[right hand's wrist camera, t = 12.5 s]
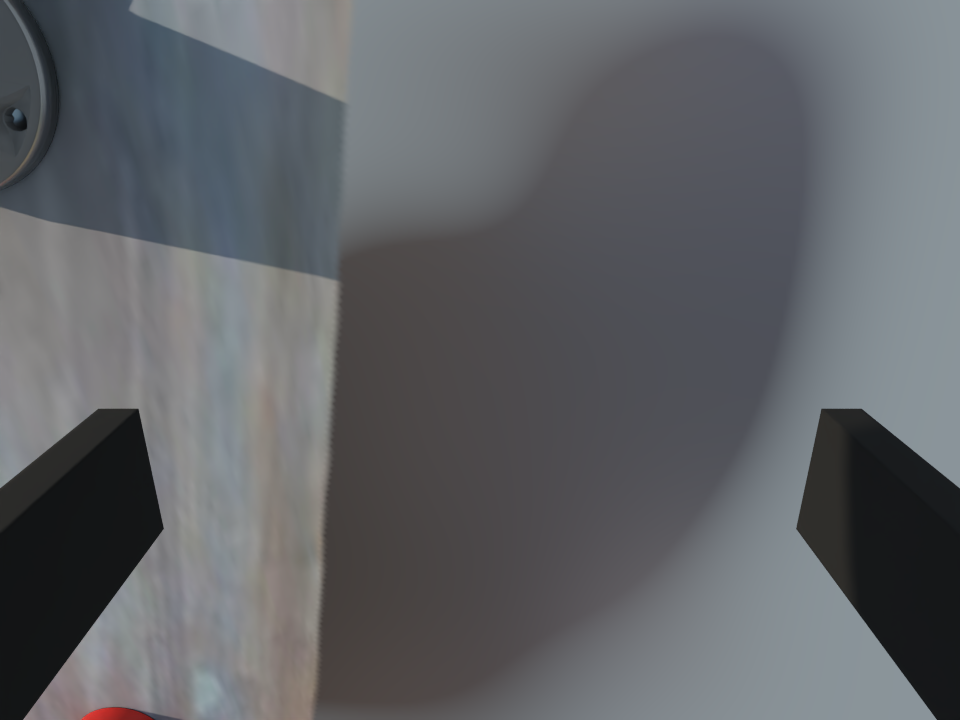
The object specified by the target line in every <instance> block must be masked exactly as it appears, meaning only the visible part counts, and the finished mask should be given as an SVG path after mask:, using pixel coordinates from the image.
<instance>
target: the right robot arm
mask: <svg viewBox="0 0 960 720" xmlns="http://www.w3.org/2000/svg"><path fill="white" fill-rule="evenodd" d="M58 109H59V93H58V83H57V77H56V72H55V68H54V64H53V60H52V57H51V54H50V51H49V49H48V46H47V44H46V41H45V39H44V37H43V35H42V33H41V31H40V29H39V27H38V25H37V23H36V22H35V20H34V18H33V17H32V15H31V13H30V12H29V10H28V9H27V8H26V6H25V5H24V3H23V2H22V1H21V0H0V190H2V189H4V188H7V187H9V186H11V185H13V184H15V183H17V182H18V181H20V180H22V179H23V178H24V177H26V176H27V175H28V174H29V173H30V172H32V171H33V169H34V168H35V167H36V166H37V165H38V164H39V163H40V161H41V160H42V158H43V157H44V156H45V154H46V152H47V150H48V148H49V146H50V144H51V141H52V139H53V136H54V133H55V129H56V125H57V119H58ZM163 529H164V528H163V523H162V518H161V514H160V509H159V504H158V499H157V495H156V490H155V485H154V480H153V476H152V471H151V466H150V462H149V457H148V452H147V447H146V443H145V438H144V433H143V428H142V424H141V419H140V414H139V409H98V410H96V411H95V412H94V413H93V414H92V415H90V416H89V417H88V418H87V419H85V420H84V421H83V422H82V423H80V424H79V425H78V426H77V427H75V428H74V429H73V430H72V431H71V432H69V433H68V434H67V435H66V436H64V437H63V438H62V439H61V440H59V441H58V442H57V443H56V444H54V445H53V446H52V447H51V448H50V449H48V450H47V451H46V452H45V453H43V454H42V455H41V456H40V457H38V458H37V459H36V460H35V461H34V462H32V463H31V464H30V465H29V466H27V467H26V468H25V469H24V470H22V471H21V472H20V473H19V474H17V475H16V476H15V477H14V478H13V479H11V480H10V481H9V482H8V483H6V484H5V485H4V486H3V487H1V488H0V720H23V719H24V718H25V716H26V715H27V714H28V712H29V711H30V710H31V708H32V707H33V705H34V704H35V703H36V701H37V700H38V699H39V697H40V696H41V695H42V693H43V692H44V691H45V689H46V688H47V686H48V685H49V684H50V682H51V681H52V680H53V678H54V677H55V676H56V674H57V673H58V672H59V670H60V669H61V667H62V666H63V665H64V663H65V662H66V661H67V659H68V658H69V657H70V655H71V654H72V653H73V651H74V650H75V648H76V647H77V646H78V644H79V643H80V642H81V640H82V639H83V638H84V636H85V635H86V634H87V632H88V631H89V629H90V628H91V627H92V625H93V624H94V623H95V621H96V620H97V619H98V617H99V616H100V615H101V613H102V612H103V610H104V609H105V608H106V606H107V605H108V604H109V602H110V601H111V600H112V598H113V597H114V596H115V594H116V593H117V591H118V590H119V589H120V587H121V586H122V585H123V583H124V582H125V581H126V579H127V578H128V577H129V575H130V574H131V572H132V571H133V570H134V568H135V567H136V566H137V564H138V563H139V562H140V560H141V559H142V558H143V556H144V555H145V553H146V552H147V551H148V549H149V548H150V547H151V545H152V544H153V543H154V541H155V540H156V539H157V537H158V536H159V534H160V533H161V532H162V530H163ZM796 529H797V530H798V532H799V533H800V534H801V536H802V537H803V539H804V540H805V541H806V543H807V544H808V545H809V547H810V548H811V549H812V551H813V552H814V553H815V555H816V556H817V558H818V559H819V560H820V562H821V563H822V564H823V566H824V567H825V568H826V570H827V571H828V572H829V574H830V575H831V577H832V578H833V579H834V581H835V582H836V583H837V585H838V586H839V587H840V589H841V590H842V591H843V593H844V594H845V596H846V597H847V598H848V600H849V601H850V602H851V604H852V605H853V606H854V608H855V609H856V610H857V612H858V613H859V615H860V616H861V617H862V619H863V620H864V621H865V623H866V624H867V625H868V627H869V628H870V629H871V631H872V632H873V633H874V635H875V636H876V638H877V639H878V640H879V642H880V643H881V644H882V646H883V647H884V648H885V650H886V651H887V653H888V654H889V655H890V657H891V658H892V659H893V661H894V662H895V663H896V665H897V666H898V667H899V669H900V670H901V672H902V673H903V674H904V676H905V677H906V678H907V680H908V681H909V682H910V684H911V685H912V686H913V688H914V689H915V691H916V692H917V693H918V695H919V696H920V697H921V699H922V700H923V701H924V703H925V704H926V705H927V707H928V708H929V709H930V711H931V712H932V714H933V715H934V716H935V718H936V719H937V720H960V488H959V487H957V486H956V485H955V484H954V483H952V482H951V481H950V480H949V479H947V478H946V477H945V476H944V475H943V474H941V473H940V472H939V471H938V470H936V469H935V468H934V467H933V466H931V465H930V464H929V463H928V462H926V461H925V460H924V459H923V458H922V457H920V456H919V455H918V454H917V453H915V452H914V451H913V450H912V449H910V448H909V447H908V446H907V445H905V444H904V443H903V442H902V441H901V440H899V439H898V438H897V437H896V436H894V435H893V434H892V433H891V432H889V431H888V430H887V429H886V428H885V427H883V426H882V425H881V424H880V423H878V422H877V421H876V420H875V419H873V418H872V417H871V416H870V415H868V414H867V413H866V412H865V411H864V410H862V409H821V414H820V419H819V424H818V428H817V433H816V438H815V443H814V447H813V452H812V457H811V462H810V466H809V471H808V476H807V481H806V485H805V490H804V495H803V499H802V504H801V509H800V514H799V519H798V523H797V528H796Z"/></svg>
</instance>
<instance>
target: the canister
mask: <svg viewBox="0 0 960 720" xmlns="http://www.w3.org/2000/svg"><path fill="white" fill-rule="evenodd" d="M81 720H154V719H152V718H151V717H149V716H147V715H145V714H143V713H140V712H138V711H135V710H131V709H127V708H116V707H112V708H103V709H99V710H96V711H93V712H91V713H89V714H88V715H86V716H85V717H84V718H82V719H81Z"/></svg>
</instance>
